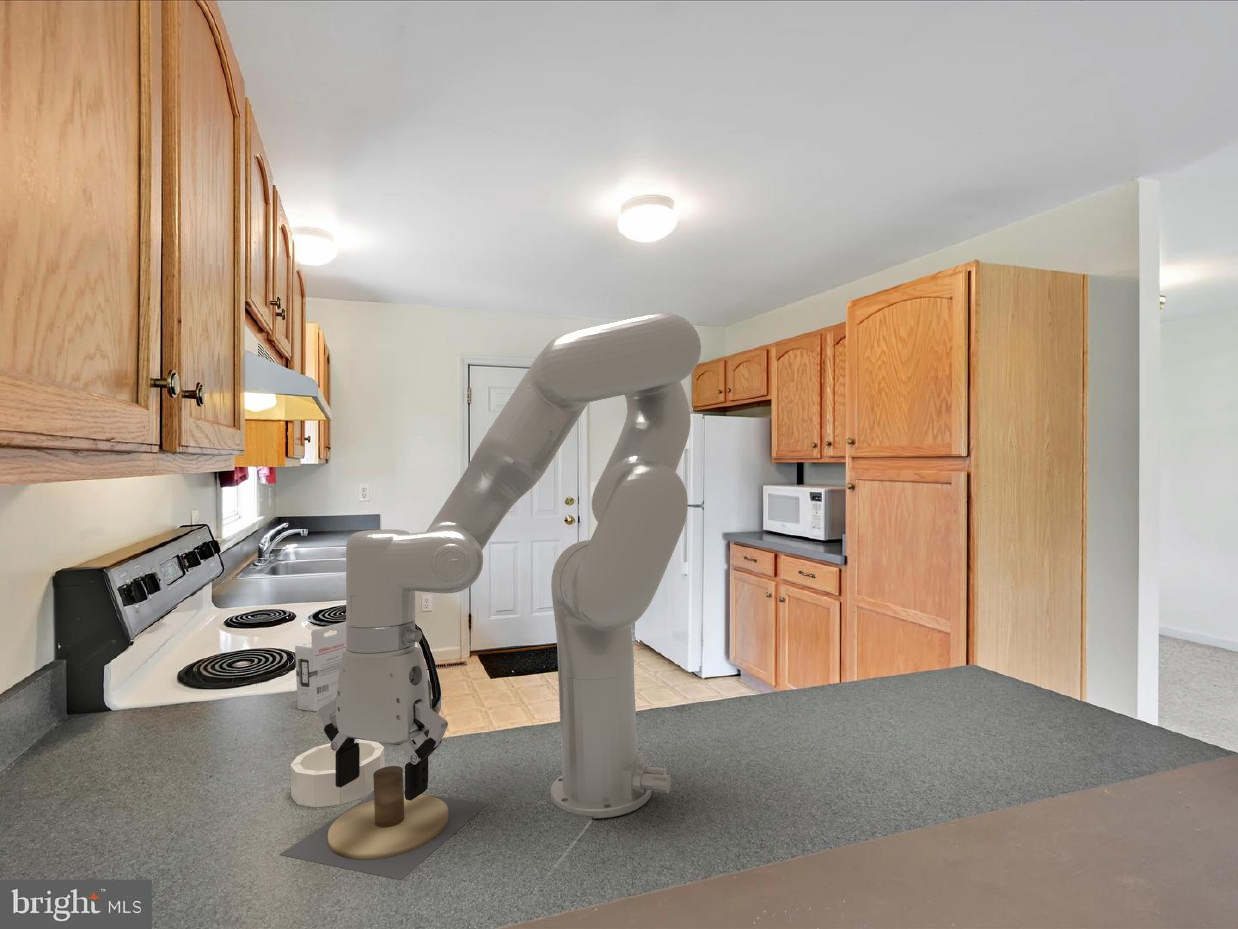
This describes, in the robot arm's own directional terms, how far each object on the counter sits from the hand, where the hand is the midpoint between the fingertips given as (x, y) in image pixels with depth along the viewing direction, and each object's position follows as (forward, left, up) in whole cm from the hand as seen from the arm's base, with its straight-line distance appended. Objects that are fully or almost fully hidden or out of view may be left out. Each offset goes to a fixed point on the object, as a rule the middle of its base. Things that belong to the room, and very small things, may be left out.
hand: (381, 788), depth 76 cm
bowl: (+13, -7, -5) cm, 16 cm away
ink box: (+43, -35, -5) cm, 56 cm away
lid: (-1, 0, -5) cm, 5 cm away
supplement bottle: (+15, -24, -5) cm, 29 cm away
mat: (-1, 0, -5) cm, 5 cm away
